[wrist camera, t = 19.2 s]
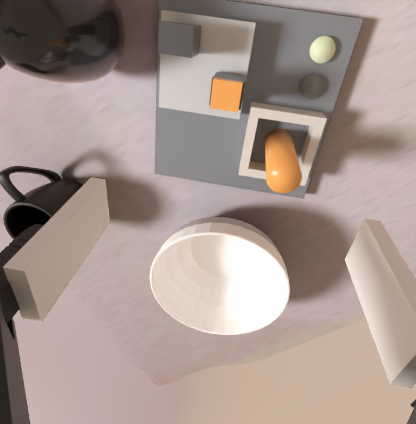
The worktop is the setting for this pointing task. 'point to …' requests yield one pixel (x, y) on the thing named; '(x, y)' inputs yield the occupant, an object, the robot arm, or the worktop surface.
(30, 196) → the mug
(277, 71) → the panel board
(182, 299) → the bowl
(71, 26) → the black domed piece
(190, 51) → the block
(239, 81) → the block
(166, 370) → the worktop surface
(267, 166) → the pin
